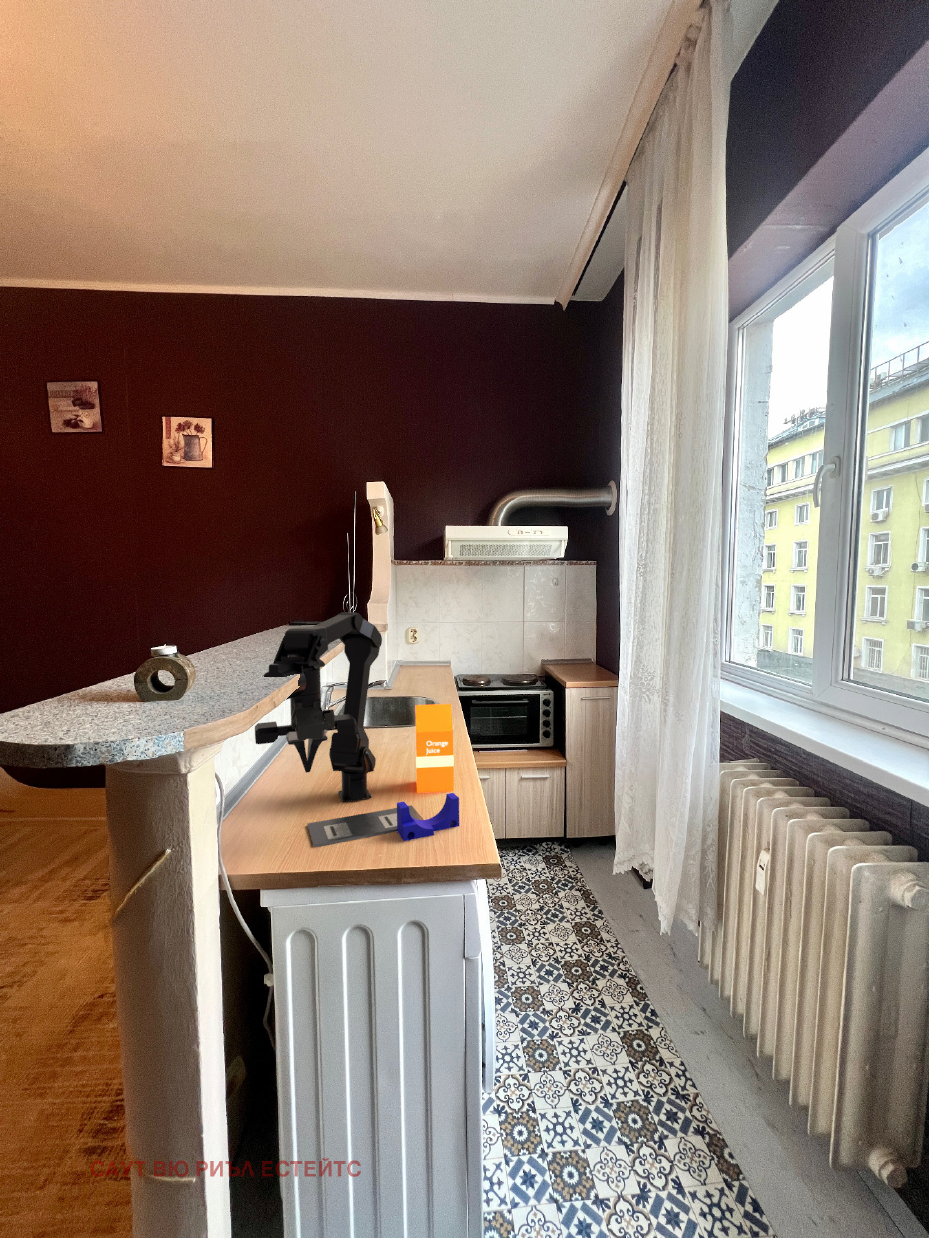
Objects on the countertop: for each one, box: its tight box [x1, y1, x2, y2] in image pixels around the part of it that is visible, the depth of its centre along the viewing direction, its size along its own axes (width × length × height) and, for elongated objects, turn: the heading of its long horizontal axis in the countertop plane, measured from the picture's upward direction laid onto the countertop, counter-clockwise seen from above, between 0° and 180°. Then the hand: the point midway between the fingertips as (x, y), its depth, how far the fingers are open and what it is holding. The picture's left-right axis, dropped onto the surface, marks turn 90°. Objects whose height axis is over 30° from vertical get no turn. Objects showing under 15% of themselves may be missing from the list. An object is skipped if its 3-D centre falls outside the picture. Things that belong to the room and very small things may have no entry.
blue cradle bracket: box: [396, 792, 460, 842], centre depth 104 cm, size 12×4×6 cm, turn 114°
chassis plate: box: [306, 805, 425, 848], centre depth 107 cm, size 10×22×1 cm, turn 113°
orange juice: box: [415, 703, 455, 794], centre depth 128 cm, size 8×9×20 cm
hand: (307, 771), depth 104 cm, fingers closed
